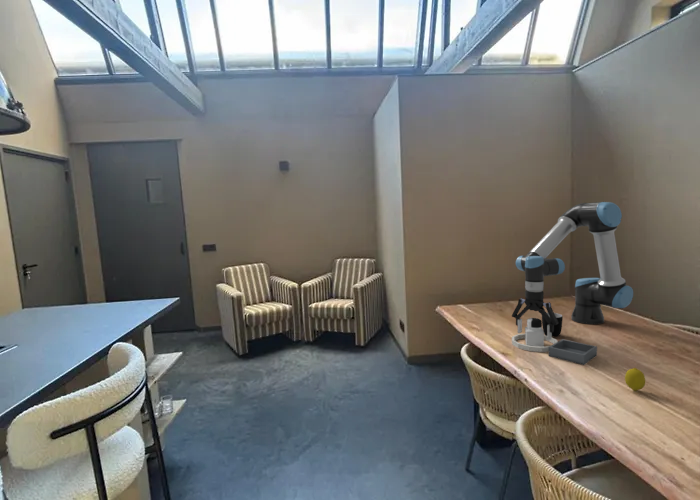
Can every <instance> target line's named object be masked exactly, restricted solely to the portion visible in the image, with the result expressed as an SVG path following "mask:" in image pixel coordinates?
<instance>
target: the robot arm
mask: <svg viewBox="0 0 700 500" xmlns="http://www.w3.org/2000/svg"><path fill="white" fill-rule="evenodd" d="M622 217H623V215H622V211H621V208H620V207H619V206H618V205H617V204H616V203H614V202H611V201H599V202H597V201H596V202H581V203H578V204H575V205H574V206H572V207H570V208H569V209H568V210H566V211H565V212H563V214H561V215H560V217H558V218H557V222H556V223H555V225H553V227H552V228H551V229H550V230H549V231H548V232H547V233H546V234H545V235H544V236H543V237H542V238H541V239H540V240H539V241H538V242H537V243H536V244H535V245H534V247H533V248H532V249H531V250H530V251H528V253H527V254H526V255H519V256H518V257H517V258H516V260H515V267H516V268H517V270H519V271H520V272H521V271H522V272H524V276H525V279H524V280H525V281H524V282H525V283H524V284H525V285H524V287H525V288H524V289H525V291H524V294H525V295H524V297H525V299H524V298H522V297H521V298H519V299H518V301H517V302H518V303H517V305H516V306H515V308H514V310H513V312H512V315H511V318H515V325H516V326H517V334H522V333H523V318H522V317H523V315H525V314H526V313H527V312H528V310H529V311H534V312H538V313H540V315H541V317H542V316H543V317H544V319H545V320H546V321H547V323H548V324H549V325H547V340H550V339H552V338H553V337H552V332H554V325H557V324H558V323H559V322H558V320H557V318H556V316H555V314H554V313H555V312H554V310H553V308H552V303H551V302H544V294H545V293H544V289H545V288H544V287H545V285H544V281H545V280H544V278H545V277H548V276H557V275H561V274H563V273H564V271H565V270H566V268H565V267H566V265H565V262H564V261H563V260H562V259H561V258H554V257H553V258H547V257H548V256H549V255H550V254H552V252H553V251H554V250H555V249H556V248H557V246H559V245H560V244H561V242H562V241H563V240H564V239H565V238H566V237H567V236H569V234H570V233H571V232H572V233H573V232H574V231H576V230H577V229H578V228H580V227H588V233H591V235H593V240H594V241H593V242H594V246H595V252H596V253H595V254H596V259H597V264H598V271H599V277H583V278H578V279H576V280H575V285H574V288H575V289H574V293H575V295H574V296H575V297H574V299H575V300H574V302H575V303H574V308H573V310H572V313H571V317H570V318H571V320H572V321H573V322H576V323H580V324H585V325H586V324H587V325H601V324H604V323H605V316H604V313H603V311H602V310H603V309H602V308H601V305H602V306H607V307H611V308H614V309H615V308H616V309H617V308H618V309H624V308H626V307H628V306H629V305H630V304H631V303H632V300H633V298H634V290H633V288H632V286H629V285H627V283H626V279H625V278H623V277H622V274H621V267H620V261H619V255H618V249H617V241H616V236H615V231H617V229H618V226H619V225H620V224H621V222H622V220H621V219H622ZM524 304H525V306H524V308H523V309H522V310H521V308H522V307H523V305H524ZM544 307H545V308H544ZM547 313H548V314H549V315H548V314H547ZM549 316H550V317H549Z"/></svg>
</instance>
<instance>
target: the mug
mask: <svg viewBox="0 0 700 500" xmlns="http://www.w3.org/2000/svg"><path fill="white" fill-rule="evenodd" d="M546 313H547V314H548V312H546ZM554 314H555V316H556V318H557V320H558V322H559V323H558V324H557V325H554V332H552V338H558V337H560V335H561V332H562V328H563V315H562V313H561V314H560V313H556V312H554ZM548 315H549V314H548ZM549 317H550V316H549ZM541 321H542V329H543V332H544V335H545V336H547V325H549V324H548V323H547V321H546V320H545V319H544V317H543V316H542V315H541Z"/></svg>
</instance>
